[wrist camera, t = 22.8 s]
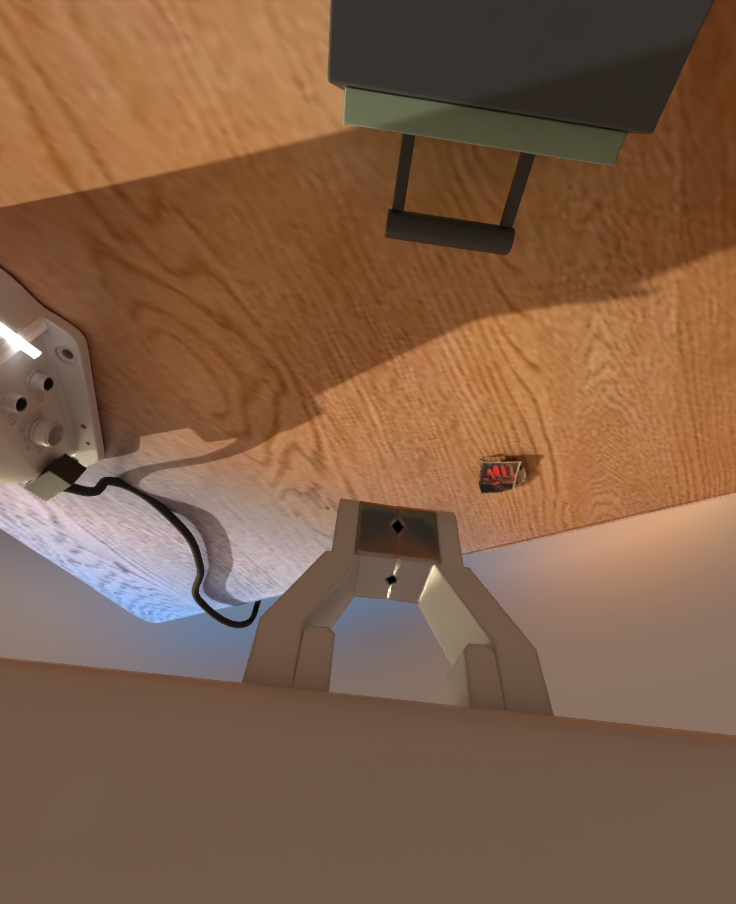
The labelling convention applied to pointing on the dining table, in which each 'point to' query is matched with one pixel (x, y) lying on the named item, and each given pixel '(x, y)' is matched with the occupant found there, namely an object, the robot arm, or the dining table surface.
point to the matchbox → (500, 476)
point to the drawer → (477, 130)
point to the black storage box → (521, 54)
